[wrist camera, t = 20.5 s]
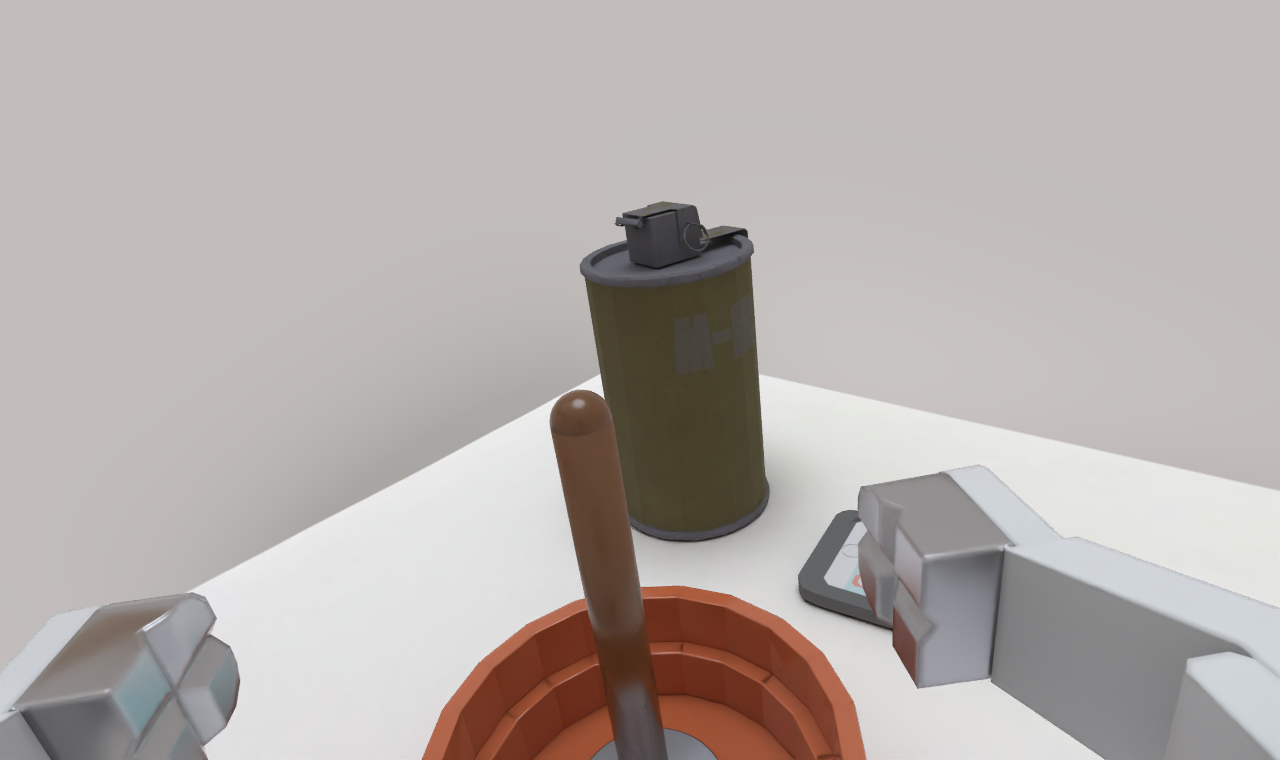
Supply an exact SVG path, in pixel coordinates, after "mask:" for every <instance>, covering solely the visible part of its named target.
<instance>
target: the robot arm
mask: <svg viewBox="0 0 1280 760" xmlns="http://www.w3.org/2000/svg"><path fill="white" fill-rule="evenodd" d="M858 516H859V518H860V519H861V521H862V522H863V524H864V525H865V527H866V529H867V532H866V533H865V535H864V536H863V537H862V539H861V540H860V542H859V543H858V567H859V572H860V576H861V581H862V586H863V589H864V592H865V595H866V597H867V600H868V602H869V604H870V606H871V608H872V610H873V612H874V613H875V615H876V617H877V619H879V620H881V621H883V622H885V623H886V624H888V625H890V626H892V627H893V647H894V649H895V650H896V652H897V654H898V656H899V657H900V659H901V661H902V662H903V664H904V666H905V668H906V669H907V671H908V673H909V674H910V676H911V678H912V680H913V681H914V683H915V685H916V686H917V688H925V687H932V686H939V685H946V684H953V683H961V682H968V681H975V680H982V679H989V678H991V682H992V683H993V684H995V685H996V686H998V687H999V688H1001V689H1002V690H1004V691H1005V692H1007V693H1008V694H1010V695H1011V696H1013V697H1014V698H1015V699H1017V700H1018V701H1020V702H1021V703H1023V704H1024V705H1026V706H1027V707H1029V708H1030V709H1032V710H1033V711H1035V712H1036V713H1038V714H1039V715H1040V716H1042V717H1043V718H1045V719H1046V720H1048V721H1049V722H1051V723H1052V724H1054V725H1055V726H1057V727H1058V728H1060V729H1061V730H1063V731H1064V732H1066V733H1067V734H1068V735H1070V736H1071V737H1073V738H1074V739H1076V740H1077V741H1079V742H1080V743H1082V744H1083V745H1085V746H1086V747H1088V748H1089V749H1091V750H1092V751H1094V752H1095V753H1096V754H1098V755H1099V756H1101V757H1102V758H1104V759H1105V760H1280V608H1277V607H1274V606H1271V605H1269V604H1266V603H1263V602H1260V601H1257V600H1254V599H1252V598H1249V597H1246V596H1243V595H1240V594H1237V593H1235V592H1232V591H1229V590H1226V589H1223V588H1221V587H1218V586H1215V585H1212V584H1209V583H1206V582H1204V581H1201V580H1198V579H1195V578H1192V577H1189V576H1187V575H1184V574H1181V573H1178V572H1175V571H1173V570H1170V569H1167V568H1164V567H1161V566H1158V565H1156V564H1153V563H1150V562H1147V561H1144V560H1142V559H1139V558H1136V557H1133V556H1130V555H1127V554H1125V553H1122V552H1119V551H1116V550H1113V549H1110V548H1108V547H1105V546H1102V545H1099V544H1096V543H1094V542H1091V541H1088V540H1085V539H1082V538H1079V537H1072V538H1065V539H1064V538H1063V537H1062V536H1061V535H1060V534H1059V533H1057V532H1056V531H1055V530H1054V529H1053V528H1052V527H1051V526H1050V525H1049V524H1048V523H1047V522H1046V521H1044V520H1043V519H1042V518H1041V517H1040V516H1039V515H1038V514H1037V513H1036V512H1035V511H1034V510H1033V509H1031V508H1030V507H1029V506H1028V505H1027V504H1026V503H1025V502H1024V501H1023V500H1022V499H1021V498H1020V497H1018V496H1017V495H1016V494H1015V493H1014V492H1013V491H1012V490H1011V489H1010V488H1009V487H1008V486H1007V485H1005V484H1004V483H1003V482H1002V481H1001V480H1000V479H999V478H998V477H997V476H996V475H995V474H994V473H992V472H991V471H990V470H989V469H988V468H986V467H983V466H980V465H974V466H969V467H963V468H958V469H953V470H948V471H943V472H939V473H937V474H931V475H925V476H920V477H914V478H908V479H902V480H897V481H891V482H885V483H879V484H874V485H868V486H862V487H861V488H860V492H859V496H858ZM216 619H217V618H216V616H215V614H214V612H213V610H212V608H211V607H210V605H209V603H208V601H207V599H206V597H204V596H201V595H198V594H195V593H185V594H178V595H171V596H164V597H157V598H149V599H142V600H135V601H127V602H121V603H113V604H110V605H99V606H93V607H87V608H81V609H74V610H69V611H66V612H64V613H61V614H58V615H56V616H53V617H52V618H51V619H50V620H49V621H48V622H47V623H46V624H45V625H44V626H43V627H42V629H41V630H40V631H39V632H38V633H37V634H36V635H35V636H34V637H33V638H32V639H31V640H30V641H29V642H28V643H27V644H26V645H25V646H24V647H23V648H22V649H21V650H20V651H19V653H18V654H17V655H16V656H15V657H14V658H13V659H12V660H11V661H10V662H9V663H8V664H7V665H6V666H5V667H4V668H3V669H2V670H1V671H0V760H208V758H207V755H206V752H205V749H204V745H206V744H207V743H208V742H209V741H210V740H211V739H213V738H214V737H215V736H216V735H217V734H218V733H220V732H221V731H222V730H223V729H224V728H225V727H226V726H227V724H228V722H229V720H230V718H231V716H232V714H233V712H234V709H235V707H236V704H237V697H238V691H239V685H240V678H239V671H238V665H237V661H236V659H235V657H234V654H233V652H232V650H231V648H230V646H229V645H227V644H225V643H224V642H222V641H221V640H219V639H217V638H216V637H214V636H213V635H211V632H212V629H213V627H214V624H215V621H216Z"/></svg>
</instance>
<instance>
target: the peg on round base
mask: <svg viewBox="0 0 1280 760" xmlns="http://www.w3.org/2000/svg"><path fill="white" fill-rule="evenodd" d="M550 428H551V433H552V438H553V443H554V448H555V453H556V458H557V463H558V468H559V472H560V477H561V482H562V487H563V492H564V497H565V502H566V507H567V512H568V517H569V521H570V526H571V531H572V536H573V541H574V546H575V551H576V556H577V561H578V565H579V570H580V575H581V580H582V585H583V590H584V595H585V600H586V605H587V610H588V614H589V619H590V624H591V629H592V634H593V639H594V644H595V649H596V654H597V659H598V663H599V668H600V673H601V678H602V683H603V688H604V693H605V698H606V703H607V708H608V712H609V717H610V722H611V727H612V732H613V737H614V739H613V740H612V741H610V742H609V743H607V744H606V745H604V746H603V747H602V748H601V749H600V750H598V751H597V752H596V753H595V754H594V755H593V756H592V758H591V759H590V760H718V758H717V757H716V755H715V754H714V753H713V752H712V751H711V750H710V749H709V748H708V747H707V746H706V745H705V744H704V743H703V742H701V741H700V740H698V739H697V738H695V737H693V736H691V735H689V734H687V733H685V732H681V731H678V730H674V729H669V728H663V723H662V717H661V711H660V705H659V699H658V692H657V686H656V680H655V674H654V668H653V662H652V656H651V650H650V643H649V637H648V631H647V625H646V619H645V613H644V607H643V601H642V594H641V588H640V582H639V576H638V570H637V564H636V558H635V551H634V545H633V539H632V533H631V527H630V521H629V515H628V509H627V502H626V496H625V490H624V484H623V478H622V472H621V466H620V460H619V453H618V447H617V441H616V435H615V429H614V423H613V417H612V413H611V410H610V408H609V406H608V404H607V402H606V401H605V400H604V399H603V398H602V397H601V396H599V395H598V394H596V393H594V392H592V391H588V390H575V391H571V392H569V393H567V394H565V395H563V396H562V397H561V398H560V399H559V400H558V401H557V402H556V403H555V405H554V407H553V409H552V411H551V415H550Z"/></svg>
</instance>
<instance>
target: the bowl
mask: <svg viewBox="0 0 1280 760" xmlns="http://www.w3.org/2000/svg"><path fill="white" fill-rule="evenodd" d="M640 588H641V594H642V601H643V607H644V613H645V619H646V625H647V631H648V637H649V643H650V650H651V656H652V662H653V668H654V674H655V680H656V686H657V692H658V699H659V705H660V711H661V717H662V723H663V728H669V729H674V730H678V731H681V732H685V733H687V734H689V735H691V736H693V737H695V738H697V739H698V740H700V741H701V742H703V743H704V744H705V745H706V746H707V747H708V748H709V749H710V750H711V751H712V752H713V753H714V754H715V755H716V757H717V758H718V760H867V759H866V754H865V750H864V745H863V740H862V736H861V731H860V726H859V722H858V717H857V712H856V708H855V705H854V701H853V700H852V698H851V697H850V695H849V693H848V692H847V690H846V689H845V687H844V685H843V684H842V682H841V681H840V679H839V677H838V676H837V674H836V673H835V671H834V669H833V668H832V666H831V665H830V663H829V661H828V660H827V658H826V657H825V655H824V654H823V653H822V651H820V650H819V649H818V648H817V647H816V646H814V645H813V644H812V643H811V642H810V641H809V640H807V639H806V638H805V637H804V636H803V635H801V634H800V633H799V632H798V631H797V630H795V629H794V628H793V627H792V626H791V625H790V624H788V623H787V622H786V621H785V620H784V619H782V618H780V617H778V616H776V615H774V614H772V613H770V612H767V611H765V610H763V609H761V608H759V607H756V606H754V605H752V604H750V603H748V602H745V601H743V600H741V599H739V598H737V597H734V596H732V595H728V594H723V593H718V592H712V591H707V590H701V589H696V588H691V587H685V586H661V587H640ZM613 739H614V737H613V732H612V727H611V722H610V717H609V712H608V708H607V703H606V698H605V693H604V688H603V683H602V678H601V673H600V668H599V663H598V659H597V654H596V649H595V644H594V639H593V634H592V629H591V624H590V619H589V614H588V610H587V605H586V600H585V599H581V600H577V601H574V602H572V603H570V604H568V605H565V606H563V607H561V608H559V609H557V610H555V611H553V612H551V613H549V614H547V615H545V616H543V617H541V618H539V619H537V620H535V621H533V622H531V623H529V624H527V625H525V627H523V628H522V629H520V630H519V631H518V632H517V633H515V634H514V635H513V636H511V637H510V638H509V639H508V640H506V641H505V642H504V643H503V644H501V645H500V646H499V647H498V648H496V649H495V650H494V651H493V652H491V653H490V654H489V655H488V656H486V657H485V658H484V659H483V660H482V661H481V662H479V663H478V664H477V666H476V667H475V668H474V670H473V671H472V672H471V673H470V675H469V676H468V677H467V678H466V680H465V681H464V682H463V684H462V685H461V686H460V687H459V689H458V690H457V691H456V693H455V694H454V695H453V696H452V698H451V699H450V700H449V702H448V703H447V704H446V705H445V707H444V709H443V710H442V712H441V714H440V717H439V719H438V722H437V724H436V726H435V729H434V731H433V734H432V736H431V739H430V741H429V743H428V746H427V748H426V751H425V753H424V755H423V758H422V760H590V759H591V758H592V756H593V755H594V754H595V753H596V752H597V751H598V750H600V749H601V748H602V747H603V746H604V745H606V744H607V743H609V742H610V741H612V740H613Z"/></svg>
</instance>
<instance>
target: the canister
mask: <svg viewBox="0 0 1280 760" xmlns="http://www.w3.org/2000/svg"><path fill="white" fill-rule="evenodd" d="M617 223H618V224H617ZM615 224H616V225H617V226H625V230H626V237H627V240H626V241H622V242H619V243H615V244H611V245H608V246H606V247H603V248H601V249H598V250H596V251H594V252H592V253H591V254H589V255H588V256H586V257H585V258H584V259H583V260H582V262H581V264H580V272H581V274H582V275H583V276H584V277H585V281H586V287H587V293H588V300H589V305H590V312H591V318H592V324H593V330H594V336H595V342H596V348H597V354H598V360H599V366H600V373H601V379H602V385H603V391H604V397H605V401H606V402H607V404H608V406H609V408H610V410H611V413H612V417H613V423H614V429H615V435H616V441H617V447H618V453H619V460H620V466H621V472H622V478H623V484H624V490H625V496H626V502H627V509H628V515H629V521H630V524H631V525H632V526H634V527H635V528H637V529H639V530H640V531H642V532H644V533H647V534H649V535H652V536H654V537H657V538H662V539H668V540H703V539H708V538H712V537H717V536H721V535H724V534H727V533H730V532H733V531H735V530H737V529H739V528H741V527H743V526H744V525H746V524H748V523H750V522H751V521H752V520H753V519H755V518H756V517H757V516H758V515H759V514H760V513H761V512H762V510H763V509H764V507H765V505H766V504H767V502H768V497H769V484H768V482H767V479H766V477H765V465H764V450H763V435H762V420H761V405H760V390H759V375H758V361H757V346H756V331H755V316H754V301H753V287H752V271H751V255H752V254H753V253H754V248H753V244H752V242H751V241H750V240H749V239H748V232H747V230H746V229H744V228H736V227H729V226H720V227H716V228H713V229H709V230H706V229H705V227H704V226H703V225H700V221H699V216H698V212H697V209H696V207H695V206H693V205H687V204H678V203H671V202H659V203H655V204H651V205H648V206H647V207H645V208H641V209H637V210H634V211H630V212H626V213H623V218H620V217H617V218H616V223H615ZM619 224H621V225H619ZM701 229H702V230H703V231H702V230H701Z"/></svg>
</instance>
